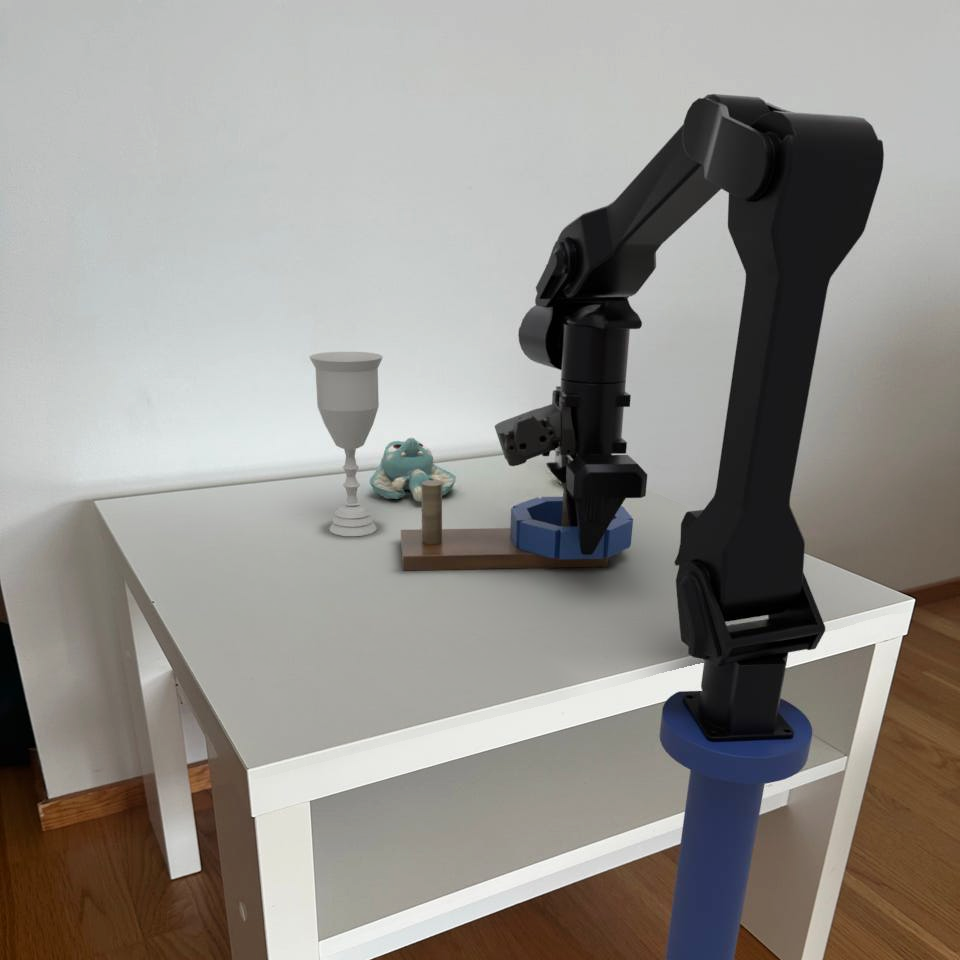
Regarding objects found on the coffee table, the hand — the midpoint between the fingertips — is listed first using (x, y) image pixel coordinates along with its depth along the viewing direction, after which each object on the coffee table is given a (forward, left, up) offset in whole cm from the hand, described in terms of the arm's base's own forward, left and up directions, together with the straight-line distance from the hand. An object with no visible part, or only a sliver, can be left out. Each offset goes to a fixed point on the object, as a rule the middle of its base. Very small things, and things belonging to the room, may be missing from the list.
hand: (582, 547), depth 89 cm
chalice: (+15, +22, -3) cm, 27 cm away
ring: (+6, 0, -1) cm, 6 cm away
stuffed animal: (+28, +15, -3) cm, 32 cm away
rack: (+6, +7, -3) cm, 9 cm away
